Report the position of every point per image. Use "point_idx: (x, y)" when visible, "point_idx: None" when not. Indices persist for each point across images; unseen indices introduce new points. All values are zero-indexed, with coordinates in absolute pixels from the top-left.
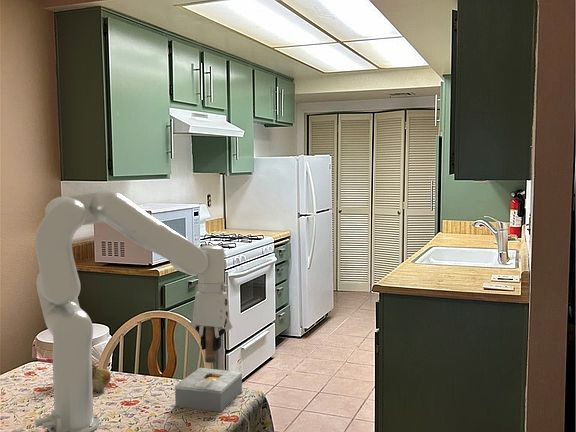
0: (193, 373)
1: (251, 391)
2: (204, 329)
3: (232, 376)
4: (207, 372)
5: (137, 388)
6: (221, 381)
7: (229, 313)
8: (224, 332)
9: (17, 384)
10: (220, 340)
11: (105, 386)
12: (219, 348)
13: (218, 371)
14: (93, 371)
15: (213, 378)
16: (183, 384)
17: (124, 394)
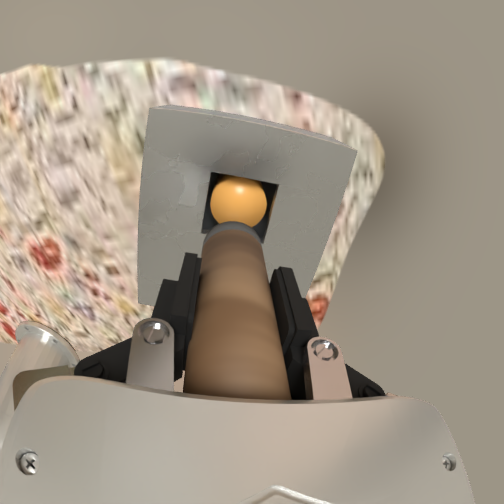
0: (146, 185)
1: (361, 136)
2: (153, 367)
3: (323, 203)
4: (203, 165)
5: (13, 168)
6: (286, 257)
7: (468, 490)
8: (360, 382)
9: None
10: (312, 331)
11: None
12: (289, 269)
13: (252, 146)
14: None
15: (241, 197)
16: (158, 293)
17: (11, 212)
